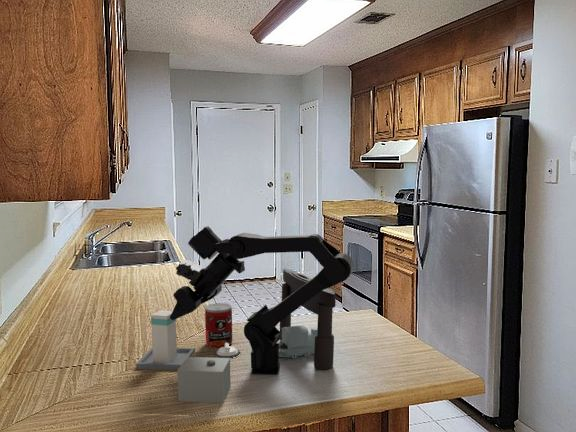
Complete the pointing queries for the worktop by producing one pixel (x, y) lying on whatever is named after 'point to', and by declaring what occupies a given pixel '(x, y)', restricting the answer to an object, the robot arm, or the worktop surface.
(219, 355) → the stove knob
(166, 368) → the tray
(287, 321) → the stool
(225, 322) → the canned food
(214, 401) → the unit
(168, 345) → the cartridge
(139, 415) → the worktop surface
